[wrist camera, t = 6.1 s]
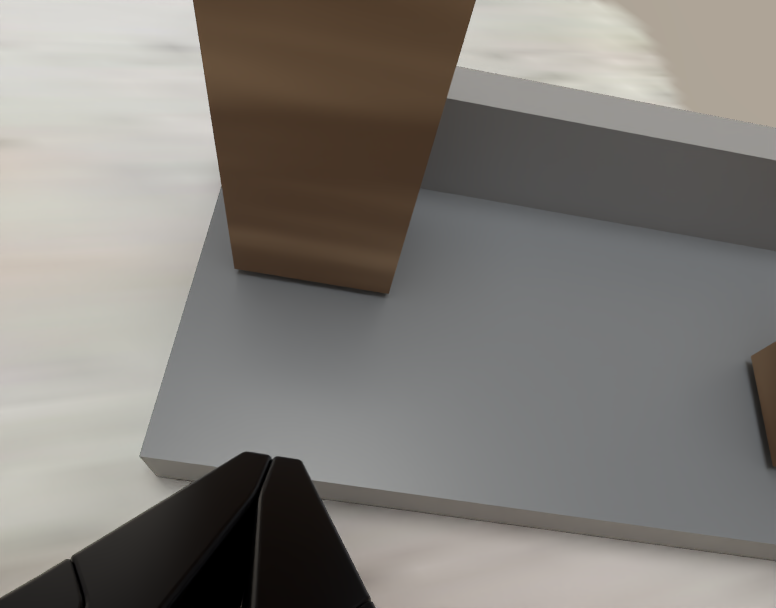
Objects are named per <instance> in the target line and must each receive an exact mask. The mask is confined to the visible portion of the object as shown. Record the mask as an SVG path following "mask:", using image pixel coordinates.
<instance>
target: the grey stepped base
mask: <svg viewBox="0 0 776 608" xmlns="http://www.w3.org/2000/svg"><path fill="white" fill-rule="evenodd" d="M774 342H776V128H773V127H769V126H763V125H758V124H753V123H748V122H743V121H738V120H732V119H727V118H722V117H717V116H712V115H707V114H701V113H696V112H691V111H686V110H681V109H676V108H670V107H665V106H660V105H655V104H650V103H645V102H639V101H634V100H629V99H624V98H619V97H614V96H608V95H603V94H598V93H593V92H588V91H582V90H577V89H572V88H567V87H562V86H557V85H551V84H546V83H541V82H536V81H531V80H526V79H520V78H515V77H510V76H505V75H500V74H494V73H489V72H484V71H479V70H474V69H469V68H463V67H458V66H456V69H455V72H454V75H453V79H452V82H451V85H450V89H449V92H448V96H447V99H446V102H445V106H444V109H443V112H442V116H441V119H440V123H439V126H438V129H437V133H436V136H435V139H434V143H433V146H432V149H431V153H430V156H429V160H428V163H427V166H426V170H425V173H424V176H423V180H422V183H421V187H420V190H419V193H418V197H417V200H416V203H415V207H414V210H413V214H412V217H411V220H410V224H409V227H408V230H407V234H406V237H405V241H404V244H403V247H402V251H401V254H400V257H399V261H398V264H397V268H396V271H395V274H394V278H393V281H392V284H391V288H390V291H389V294H386V293H380V292H374V291H368V290H362V289H356V288H349V287H343V286H337V285H331V284H325V283H319V282H313V281H307V280H300V279H294V278H288V277H282V276H276V275H270V274H264V273H258V272H251V271H245V270H239V269H234V263H233V256H232V250H231V243H230V237H229V230H228V224H227V217H226V211H225V204H224V198H223V191H222V186H221V190H220V193H219V196H218V199H217V203H216V206H215V209H214V213H213V216H212V219H211V222H210V226H209V229H208V232H207V236H206V239H205V242H204V245H203V249H202V252H201V255H200V259H199V262H198V265H197V268H196V272H195V275H194V278H193V282H192V285H191V288H190V291H189V295H188V298H187V301H186V305H185V308H184V311H183V314H182V318H181V321H180V324H179V328H178V331H177V334H176V337H175V341H174V344H173V347H172V350H171V354H170V357H169V360H168V364H167V367H166V370H165V373H164V377H163V380H162V383H161V387H160V390H159V393H158V396H157V400H156V403H155V406H154V410H153V413H152V416H151V419H150V423H149V426H148V429H147V433H146V436H145V439H144V442H143V446H142V449H141V452H140V458H141V459H142V460H143V461H144V462H145V463H146V464H147V466H148V467H149V468H150V469H151V470H152V471H153V472H154V474H155V475H156V476H160V477H167V478H174V479H182V480H189V481H196V480H198V479H199V478H201V477H202V476H204V475H206V474H207V473H209V472H211V471H212V470H214V469H216V468H217V467H219V466H221V465H222V464H224V463H226V462H227V461H229V460H230V459H232V458H234V457H235V456H237V455H239V454H240V453H242V452H245V451H249V452H255V453H262V454H268V455H270V456H271V458H272V459H273V458H274V457H276V456H281V457H288V458H294V459H299V460H301V461H302V462H303V464H304V466H305V468H306V470H307V472H308V474H309V476H310V478H311V480H312V482H313V484H314V486H315V488H316V490H317V492H318V494H319V496H320V498H321V499H328V500H335V501H343V502H350V503H357V504H365V505H372V506H379V507H387V508H394V509H401V510H408V511H416V512H423V513H430V514H438V515H445V516H452V517H460V518H467V519H474V520H482V521H489V522H496V523H504V524H511V525H518V526H526V527H533V528H540V529H547V530H555V531H562V532H569V533H577V534H584V535H591V536H599V537H606V538H613V539H621V540H628V541H635V542H643V543H650V544H657V545H664V546H672V547H679V548H686V549H694V550H701V551H708V552H716V553H723V554H730V555H738V556H745V557H752V558H760V559H767V560H774V561H776V467H773V464H772V459H771V454H770V449H769V444H768V439H767V434H766V429H765V424H764V419H763V415H762V410H761V405H760V400H759V395H758V390H757V385H756V380H755V375H754V370H753V365H752V360H751V356H752V355H754V354H755V353H757V352H759V351H760V350H762V349H764V348H765V347H767V346H769V345H771V344H772V343H774Z"/></svg>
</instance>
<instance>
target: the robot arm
mask: <svg viewBox="0 0 776 608" xmlns="http://www.w3.org/2000/svg"><path fill="white" fill-rule="evenodd" d="M0 608H375V605H374V604H373V602H371V598H370V596H369V594H368V592H367V590H366V588H365V586H364V584H363V582H362V580H361V578H360V576H359V574H358V572H357V570H356V568H355V566H354V564H353V562H352V560H351V558H350V556H349V554H348V552H347V550H346V548H345V546H344V544H343V542H342V540H341V538H340V536H339V534H338V532H337V530H336V528H335V526H334V524H333V522H332V520H331V518H330V516H329V514H328V512H327V510H326V508H325V506H324V504H323V502H322V500H321V498H320V496H319V494H318V492H317V490H316V488H315V486H314V484H313V482H312V480H311V478H310V476H309V474H308V472H307V470H306V468H305V466H304V464H303V462H302V461H301V460H299V459H294V458H288V457H281V456H276V457H274V458H273V459H272V458H271V456H270V455H268V454H262V453H255V452H249V451H245V452H242V453H240V454H239V455H237V456H235V457H234V458H232V459H230V460H229V461H227V462H226V463H224V464H222V465H221V466H219V467H217V468H216V469H214V470H212V471H211V472H209V473H207V474H206V475H204V476H202V477H201V478H199V479H198V480H196V481H194V482H193V483H191V484H189V485H188V486H186V487H184V488H183V489H181V490H179V491H178V492H176V493H175V494H173V495H171V496H170V497H168V498H166V499H165V500H163V501H161V502H160V503H158V504H156V505H155V506H153V507H151V508H150V509H148V510H147V511H145V512H143V513H142V514H140V515H138V516H137V517H135V518H133V519H132V520H130V521H128V522H127V523H125V524H123V525H122V526H120V527H119V528H117V529H115V530H114V531H112V532H110V533H109V534H107V535H105V536H104V537H102V538H100V539H99V540H97V541H96V542H94V543H92V544H91V545H89V546H87V547H86V548H84V549H82V550H81V551H79V552H77V553H76V554H74V555H73V556H72V557H71V559H66V560H64V561H62V562H61V563H59V564H57V565H56V566H54V567H52V568H51V569H49V570H47V571H46V572H44V573H42V574H41V575H39V576H37V577H36V578H34V579H32V580H30V581H29V582H27V583H25V584H23V585H22V586H20V587H18V588H16V589H15V590H13V591H11V592H10V593H8V594H6V595H4V596H3V597H1V598H0Z"/></svg>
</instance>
